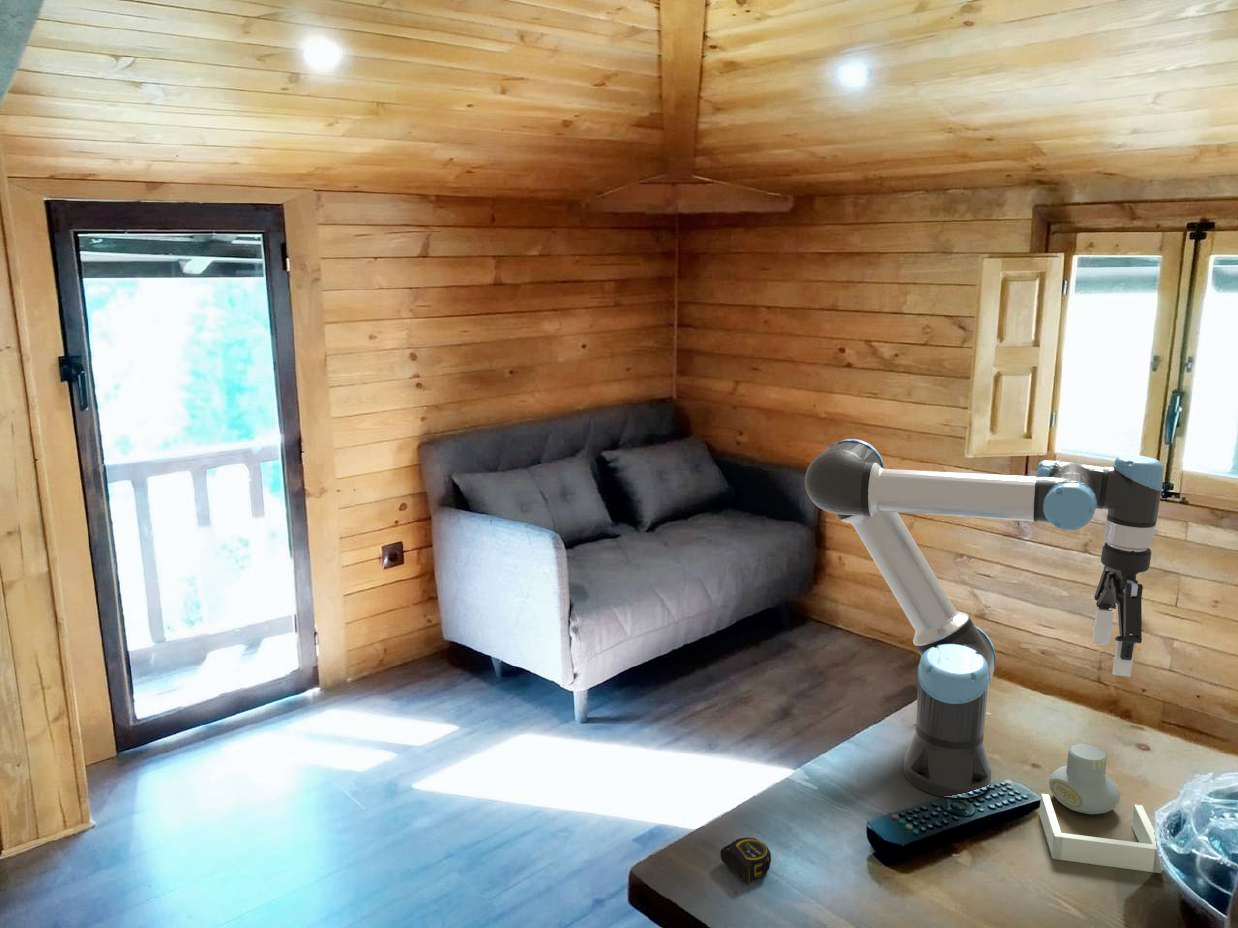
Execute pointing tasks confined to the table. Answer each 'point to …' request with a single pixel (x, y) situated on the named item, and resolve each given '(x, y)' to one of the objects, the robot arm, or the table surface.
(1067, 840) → the dock
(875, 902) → the table surface
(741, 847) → the tape measure
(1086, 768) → the air freshener
